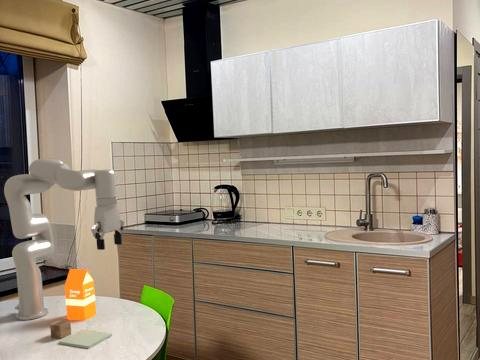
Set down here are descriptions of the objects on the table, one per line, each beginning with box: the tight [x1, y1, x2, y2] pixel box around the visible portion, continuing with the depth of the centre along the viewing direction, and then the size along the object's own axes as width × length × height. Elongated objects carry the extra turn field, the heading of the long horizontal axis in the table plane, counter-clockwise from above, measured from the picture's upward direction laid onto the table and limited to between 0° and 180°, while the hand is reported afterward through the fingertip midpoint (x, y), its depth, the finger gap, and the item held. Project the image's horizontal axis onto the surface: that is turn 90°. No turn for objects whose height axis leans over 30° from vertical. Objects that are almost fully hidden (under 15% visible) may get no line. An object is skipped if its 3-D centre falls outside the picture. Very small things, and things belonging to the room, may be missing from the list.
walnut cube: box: [49, 319, 72, 340], centre depth 181 cm, size 5×5×5 cm
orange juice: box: [64, 268, 97, 322], centre depth 201 cm, size 8×9×20 cm
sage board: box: [58, 329, 113, 349], centre depth 176 cm, size 14×12×1 cm
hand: (109, 246), depth 185 cm, fingers open, 9 cm apart
